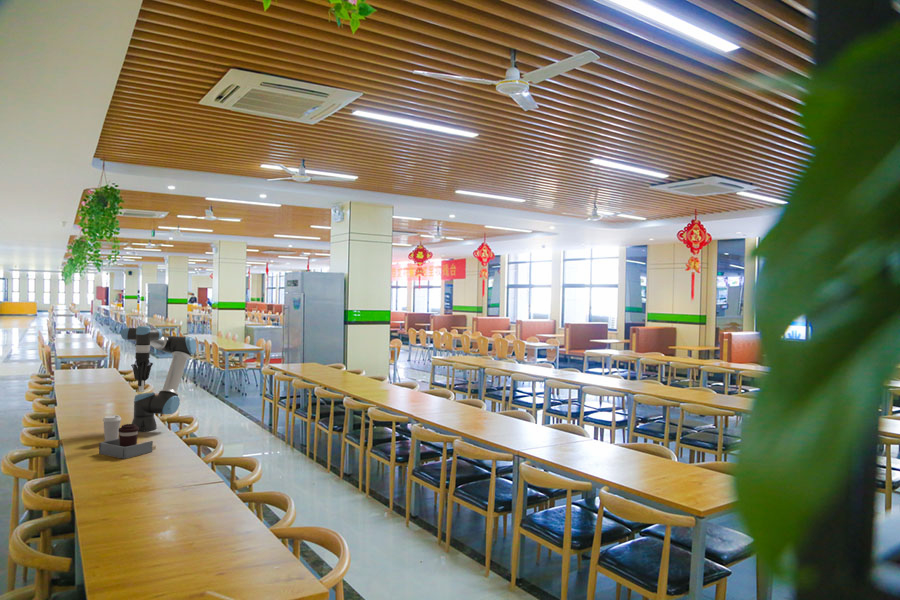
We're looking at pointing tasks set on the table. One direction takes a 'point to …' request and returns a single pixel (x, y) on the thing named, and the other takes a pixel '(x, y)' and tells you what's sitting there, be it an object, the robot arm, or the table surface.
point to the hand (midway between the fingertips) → (141, 391)
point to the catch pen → (124, 449)
